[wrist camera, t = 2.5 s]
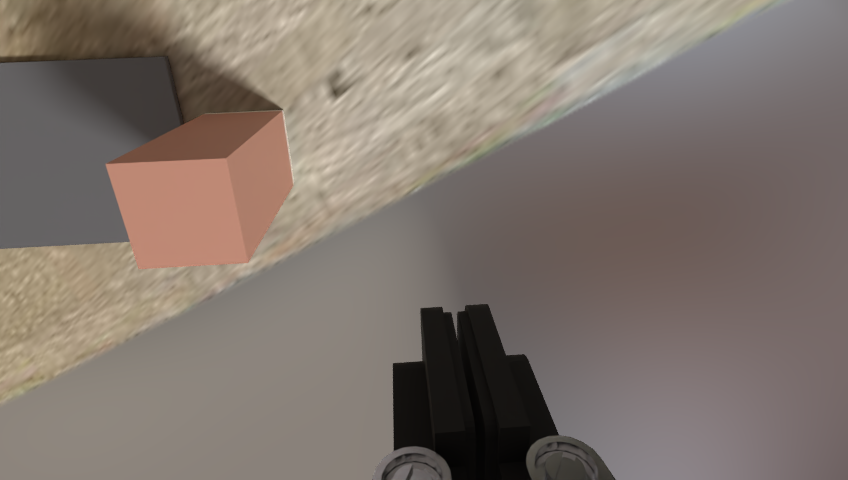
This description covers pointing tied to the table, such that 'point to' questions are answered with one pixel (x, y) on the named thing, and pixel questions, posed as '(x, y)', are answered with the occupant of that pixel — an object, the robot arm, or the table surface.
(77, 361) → the table surface
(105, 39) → the table surface
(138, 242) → the salmon pink block
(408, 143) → the table surface
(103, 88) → the mat
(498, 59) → the table surface
